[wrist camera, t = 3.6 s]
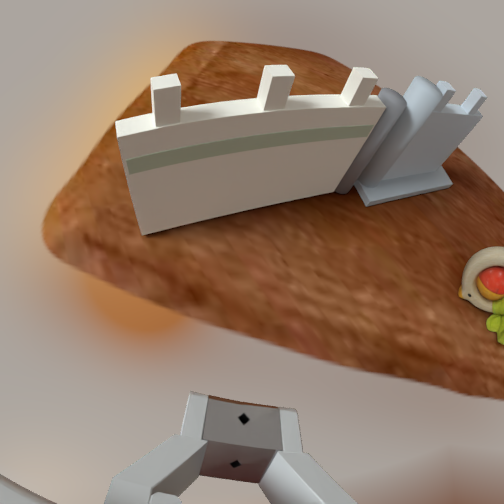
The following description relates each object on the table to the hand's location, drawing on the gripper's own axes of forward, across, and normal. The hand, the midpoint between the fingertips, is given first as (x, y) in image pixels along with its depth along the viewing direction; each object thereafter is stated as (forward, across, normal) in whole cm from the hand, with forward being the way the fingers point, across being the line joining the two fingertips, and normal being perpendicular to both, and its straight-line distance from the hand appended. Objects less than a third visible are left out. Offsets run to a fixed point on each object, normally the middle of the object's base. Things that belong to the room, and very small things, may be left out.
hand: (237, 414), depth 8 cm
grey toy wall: (+25, -14, -8) cm, 29 cm away
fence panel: (+19, 0, -3) cm, 19 cm away
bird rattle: (+16, -23, +1) cm, 28 cm away
